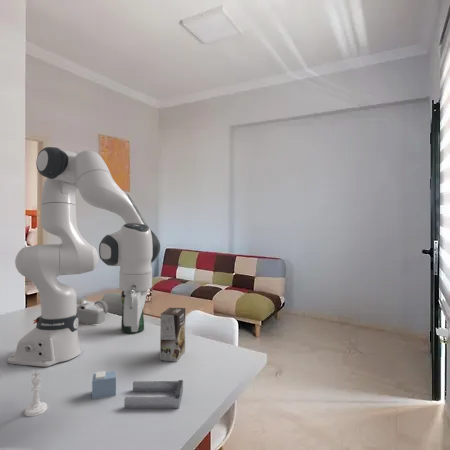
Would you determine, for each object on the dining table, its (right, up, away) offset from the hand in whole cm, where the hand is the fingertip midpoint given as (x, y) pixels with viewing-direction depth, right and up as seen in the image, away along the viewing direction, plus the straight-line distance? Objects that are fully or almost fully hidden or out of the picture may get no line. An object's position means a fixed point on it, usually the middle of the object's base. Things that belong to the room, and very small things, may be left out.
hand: (135, 329), depth 90 cm
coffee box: (+7, -17, +23) cm, 30 cm away
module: (-8, -17, -1) cm, 19 cm away
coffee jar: (-14, -16, +48) cm, 52 cm away
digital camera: (-38, -17, +61) cm, 74 cm away
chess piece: (-22, -17, -10) cm, 30 cm away
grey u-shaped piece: (+7, -17, -4) cm, 19 cm away
